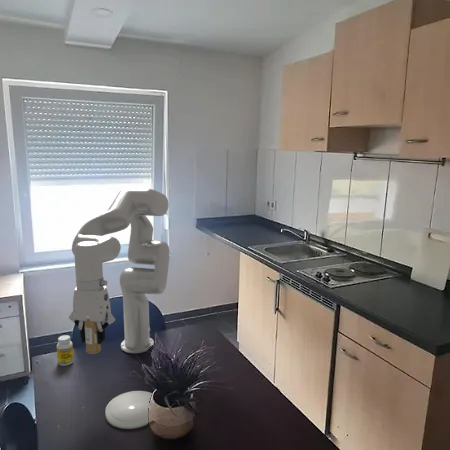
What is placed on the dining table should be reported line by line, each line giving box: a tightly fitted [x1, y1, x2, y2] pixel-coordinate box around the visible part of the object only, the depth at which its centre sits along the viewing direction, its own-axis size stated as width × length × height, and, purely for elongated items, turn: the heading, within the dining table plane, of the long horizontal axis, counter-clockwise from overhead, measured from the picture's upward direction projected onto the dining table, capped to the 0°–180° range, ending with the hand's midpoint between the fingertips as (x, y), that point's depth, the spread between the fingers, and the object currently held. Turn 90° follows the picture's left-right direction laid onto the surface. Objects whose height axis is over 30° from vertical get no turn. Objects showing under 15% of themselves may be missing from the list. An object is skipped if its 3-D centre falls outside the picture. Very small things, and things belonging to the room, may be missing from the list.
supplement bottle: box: [56, 334, 75, 367], centre depth 146 cm, size 5×5×10 cm
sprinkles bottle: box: [84, 315, 102, 355], centre depth 122 cm, size 5×5×14 cm
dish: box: [104, 390, 153, 430], centre depth 121 cm, size 16×16×1 cm
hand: (93, 340), depth 123 cm, fingers closed on sprinkles bottle, 4 cm apart
